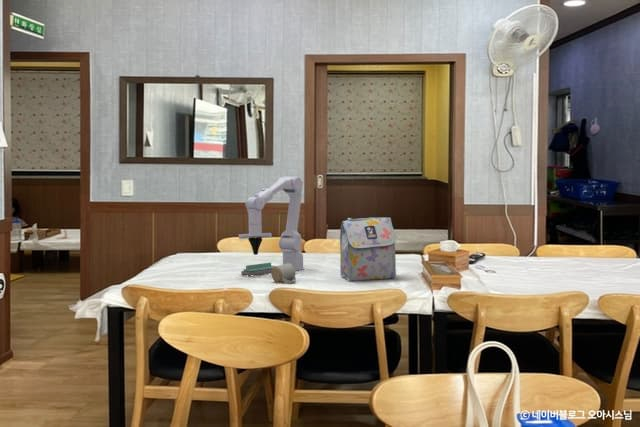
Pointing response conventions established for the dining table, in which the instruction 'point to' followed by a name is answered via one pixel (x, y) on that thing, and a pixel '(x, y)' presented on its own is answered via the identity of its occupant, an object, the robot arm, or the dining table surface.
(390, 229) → the lunch bag
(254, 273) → the grey open box
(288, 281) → the ceramic mug
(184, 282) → the dining table surface
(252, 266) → the cover
